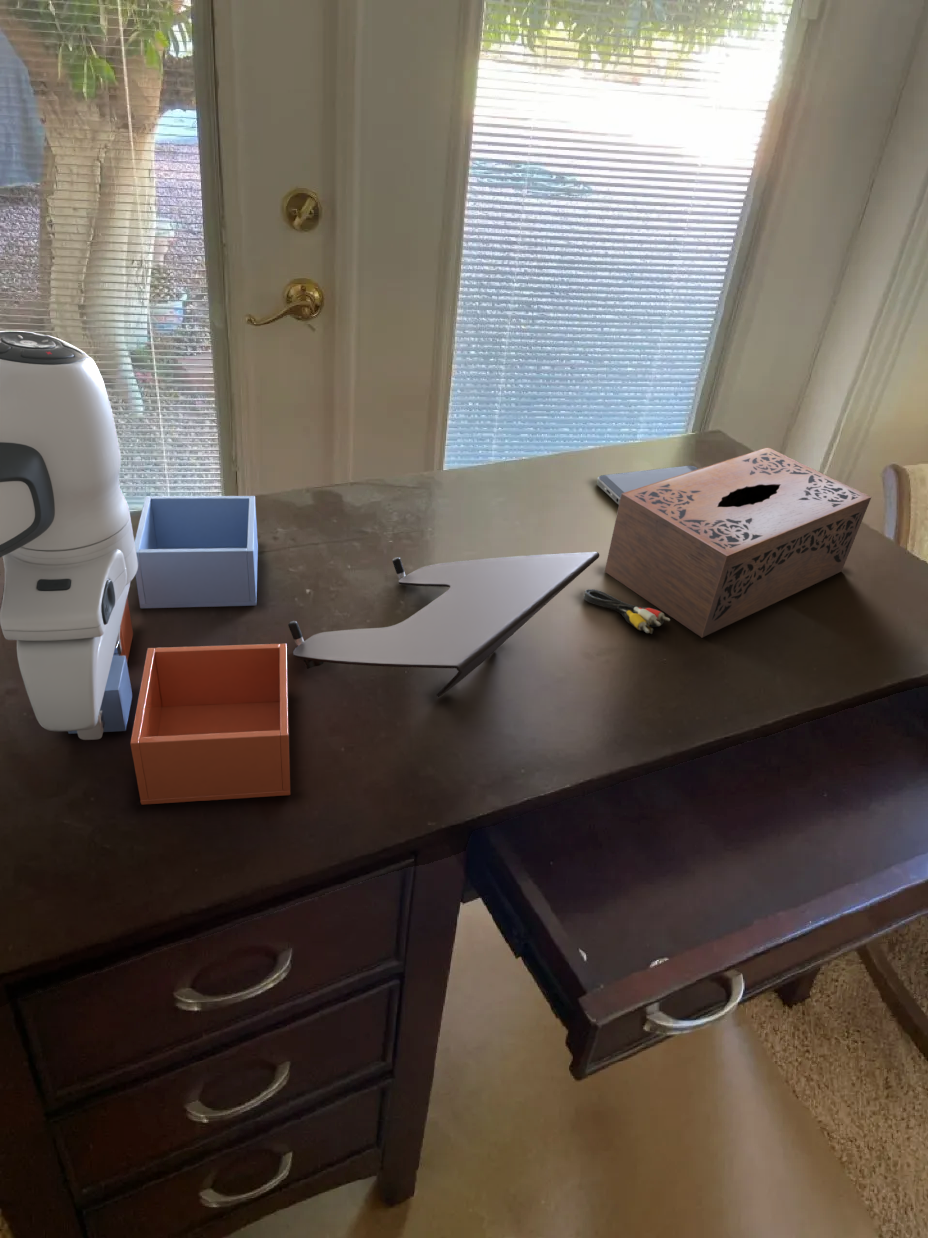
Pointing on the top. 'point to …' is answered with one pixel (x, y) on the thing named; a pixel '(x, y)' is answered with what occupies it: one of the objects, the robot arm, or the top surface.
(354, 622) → the top surface
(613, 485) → the phone
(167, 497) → the slate bin
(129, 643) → the terracotta block
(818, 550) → the tissue box cover
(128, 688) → the slate block
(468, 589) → the laptop stand
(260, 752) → the terracotta bin
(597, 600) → the composite cable
